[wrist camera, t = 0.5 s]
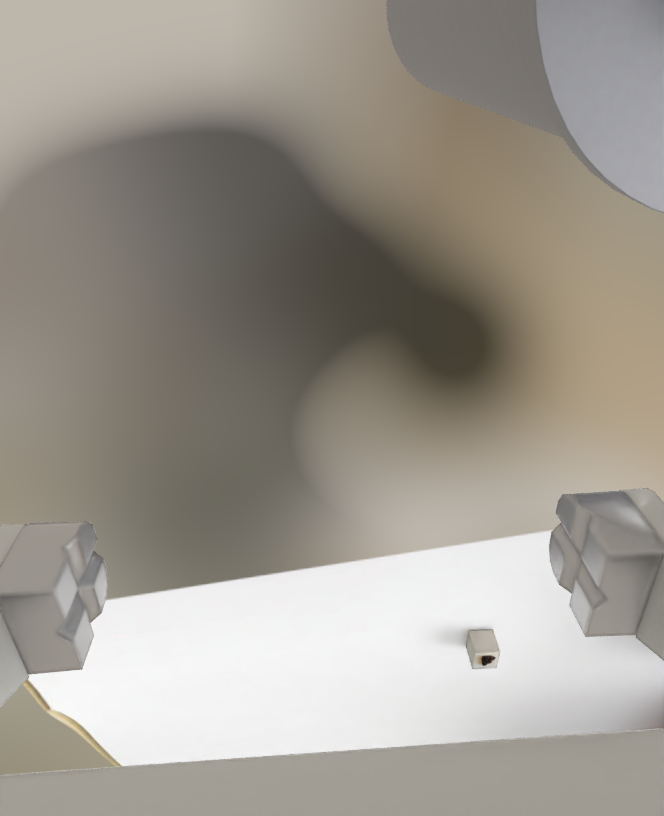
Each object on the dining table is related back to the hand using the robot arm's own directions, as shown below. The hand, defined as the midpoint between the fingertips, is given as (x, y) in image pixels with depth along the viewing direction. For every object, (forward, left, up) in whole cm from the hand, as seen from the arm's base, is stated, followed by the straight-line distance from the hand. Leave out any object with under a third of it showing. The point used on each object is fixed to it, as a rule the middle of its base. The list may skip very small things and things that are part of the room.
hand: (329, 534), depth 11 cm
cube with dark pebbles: (+38, +13, -26) cm, 48 cm away
